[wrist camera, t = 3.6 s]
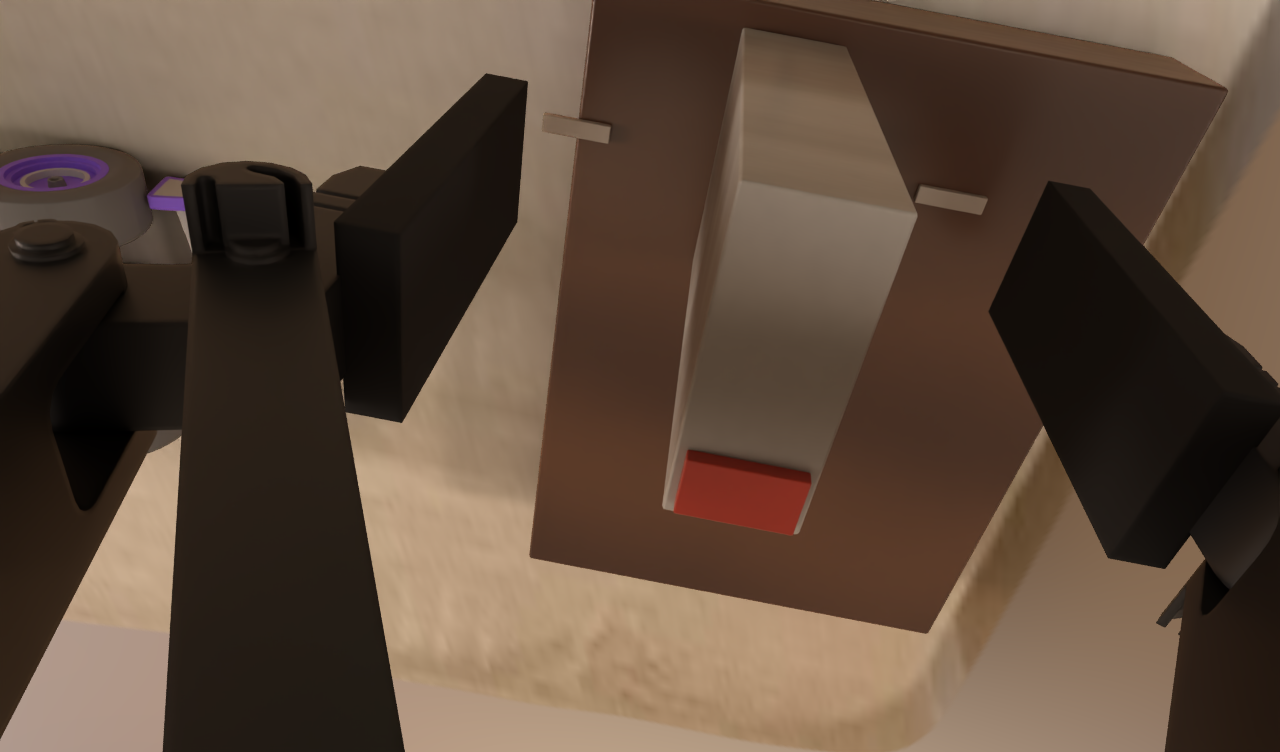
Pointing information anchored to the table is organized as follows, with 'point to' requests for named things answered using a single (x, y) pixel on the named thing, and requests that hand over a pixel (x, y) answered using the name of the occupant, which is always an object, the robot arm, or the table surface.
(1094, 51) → the dial panel
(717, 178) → the red-tipped grey block
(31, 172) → the toy race car
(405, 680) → the table surface
